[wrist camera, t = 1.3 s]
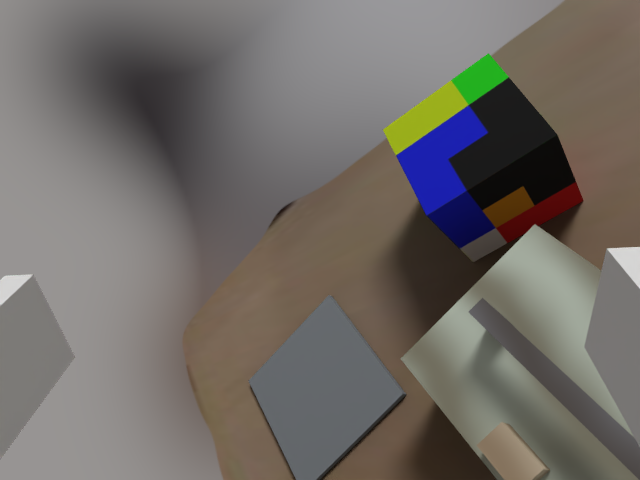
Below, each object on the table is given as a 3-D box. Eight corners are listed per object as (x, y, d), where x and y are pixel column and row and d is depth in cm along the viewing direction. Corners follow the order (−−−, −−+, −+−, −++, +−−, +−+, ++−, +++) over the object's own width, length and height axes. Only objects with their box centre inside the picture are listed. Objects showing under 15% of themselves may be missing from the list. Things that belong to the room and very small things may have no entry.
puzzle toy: (473, 262, 42) (426, 215, 35) (430, 183, 48) (382, 129, 41) (583, 201, 38) (557, 134, 31) (522, 124, 44) (488, 53, 37)
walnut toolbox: (559, 264, 37) (520, 200, 29) (847, 477, 25) (924, 473, 17) (444, 377, 39) (375, 347, 31) (656, 627, 27) (638, 691, 18)
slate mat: (332, 296, 49) (329, 294, 49) (406, 394, 41) (403, 393, 40) (252, 381, 51) (248, 380, 51) (306, 492, 43) (302, 492, 42)
